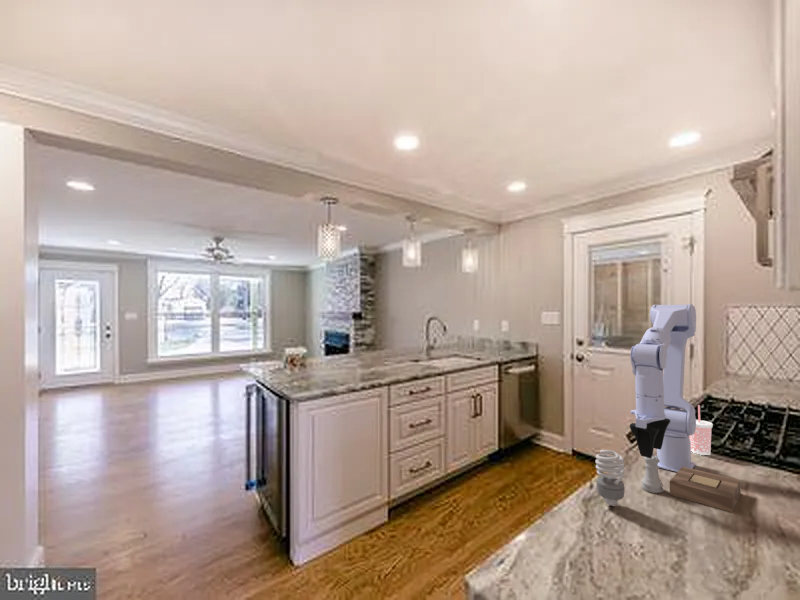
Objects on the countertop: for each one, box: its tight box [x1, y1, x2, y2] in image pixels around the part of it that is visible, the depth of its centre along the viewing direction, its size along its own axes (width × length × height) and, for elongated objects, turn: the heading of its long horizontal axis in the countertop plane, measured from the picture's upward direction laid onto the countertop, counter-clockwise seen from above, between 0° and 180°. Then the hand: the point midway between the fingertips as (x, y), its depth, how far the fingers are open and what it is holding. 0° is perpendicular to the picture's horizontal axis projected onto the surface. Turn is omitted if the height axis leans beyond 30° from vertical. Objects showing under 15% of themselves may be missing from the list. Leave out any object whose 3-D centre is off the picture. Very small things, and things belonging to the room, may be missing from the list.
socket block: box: [669, 467, 741, 513], centre depth 89 cm, size 12×11×3 cm
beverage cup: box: [689, 404, 714, 456], centre depth 114 cm, size 6×6×14 cm
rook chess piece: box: [641, 453, 664, 494], centre depth 92 cm, size 4×4×8 cm
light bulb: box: [595, 449, 626, 507], centre depth 85 cm, size 6×6×12 cm
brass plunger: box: [690, 475, 720, 488], centre depth 89 cm, size 5×5×1 cm
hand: (651, 452), depth 92 cm, fingers open, 7 cm apart
